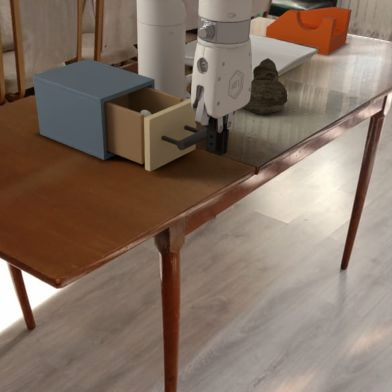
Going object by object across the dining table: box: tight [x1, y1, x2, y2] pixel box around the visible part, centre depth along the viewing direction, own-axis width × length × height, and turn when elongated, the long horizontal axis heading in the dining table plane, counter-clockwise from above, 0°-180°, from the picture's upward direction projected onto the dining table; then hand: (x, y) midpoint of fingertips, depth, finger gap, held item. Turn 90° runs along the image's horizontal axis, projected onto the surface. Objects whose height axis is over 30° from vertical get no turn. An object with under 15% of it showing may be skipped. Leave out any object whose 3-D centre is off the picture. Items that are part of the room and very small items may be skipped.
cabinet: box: [32, 58, 155, 161], centre depth 114 cm, size 17×14×11 cm
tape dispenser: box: [265, 6, 352, 56], centre depth 166 cm, size 18×13×8 cm
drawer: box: [104, 87, 207, 172], centre depth 108 cm, size 20×12×9 cm, turn 52°
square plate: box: [185, 33, 318, 81], centre depth 151 cm, size 27×27×4 cm
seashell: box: [243, 58, 289, 115], centre depth 128 cm, size 11×12×10 cm
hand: (216, 152), depth 102 cm, fingers closed
